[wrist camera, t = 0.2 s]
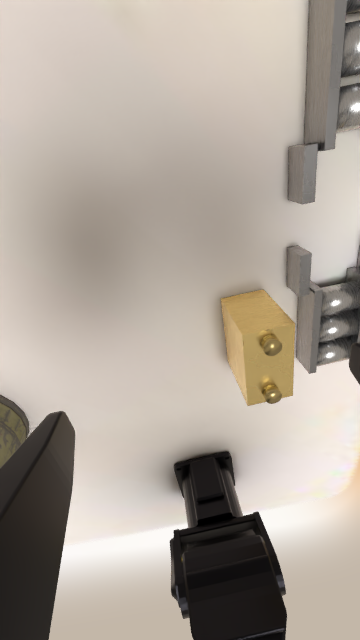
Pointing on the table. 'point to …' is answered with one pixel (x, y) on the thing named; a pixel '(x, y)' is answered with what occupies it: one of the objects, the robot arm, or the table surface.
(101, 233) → the table surface
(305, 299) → the chain end
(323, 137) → the chain end
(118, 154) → the table surface
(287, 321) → the link
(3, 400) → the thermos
